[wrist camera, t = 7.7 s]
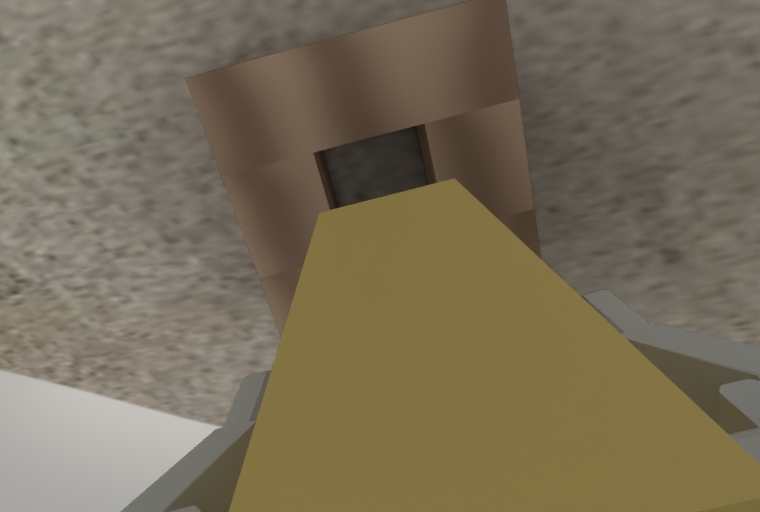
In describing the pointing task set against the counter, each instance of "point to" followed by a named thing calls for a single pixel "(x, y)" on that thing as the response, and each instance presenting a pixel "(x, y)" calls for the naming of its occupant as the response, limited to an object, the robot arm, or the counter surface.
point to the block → (468, 383)
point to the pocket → (366, 126)
